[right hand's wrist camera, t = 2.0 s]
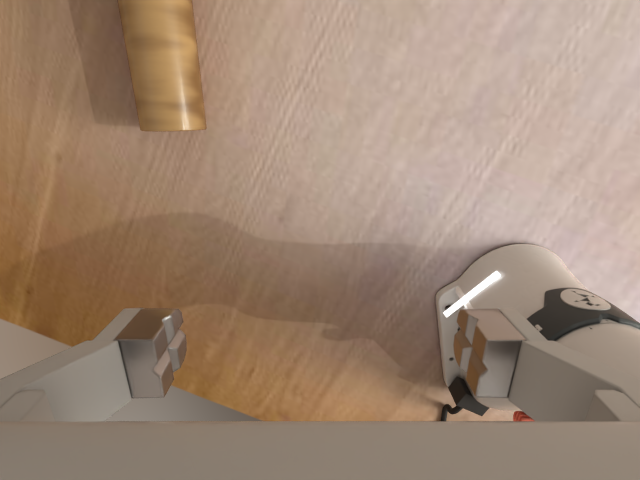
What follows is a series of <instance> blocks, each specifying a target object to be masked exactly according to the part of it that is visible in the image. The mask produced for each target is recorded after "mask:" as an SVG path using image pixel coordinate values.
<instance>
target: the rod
mask: <svg viewBox="0 0 640 480" xmlns="http://www.w3.org/2000/svg"><path fill="white" fill-rule="evenodd" d="M118 6H119V12H120V17H121V23H122V28H123V34H124V40H125V45H126V51H127V57H128V62H129V68H130V74H131V79H132V85H133V91H134V96H135V102H136V108H137V113H138V119H139V125H140V130H141V131H190V130H204V129H206V119H205V110H204V102H203V93H202V84H201V75H200V67H199V58H198V49H197V40H196V32H195V23H194V14H193V5H192V0H118Z"/></svg>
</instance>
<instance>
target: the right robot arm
mask: <svg viewBox="0 0 640 480" xmlns="http://www.w3.org/2000/svg"><path fill="white" fill-rule="evenodd" d="M435 300H436V310H437V319H438V329H439V339H440V349H441V359H442V368H443V377H444V382H445V383H446V385H447V386H448V388H449V390H450V393H451V395H452V397H453V399H454V401H455V403H456V405H457V406H456V407H454V408H452V407H451V406H450V405H449V404H446V405H445V406H444V407H443V410H442V417H441V421H106V420H107V419H108V418H110V417H111V416H112V415H113V414H115V413H116V412H117V411H119V410H120V409H121V408H122V407H124V406H125V405H126V404H127V403H129V402H130V401H131V400H132V398H160V397H165V395H166V393H167V391H168V389H169V388H170V386H171V384H172V382H173V380H174V375H173V372H175V371H176V370H178V369H179V368H180V367H181V365H182V363H183V362H184V359H185V354H186V344H187V342H186V335H185V334H184V333H183V332H182V331H181V330H180V329H179V328H180V327H181V325H182V323H183V317H182V312H181V311H180V310H179V309H164V308H126V309H123V310H122V311H121V312H120V313H119V314H118V315H117V316H116V317H115V318H114V319H113V320H112V321H111V322H110V323H109V324H108V325H107V326H106V327H105V328H104V329H103V330H102V331H101V332H100V333H99V334H98V335H97V336H96V337H95V338H94V339H93V340H92V341H85V342H82V343H80V344H78V345H76V346H73V347H71V348H69V349H67V350H64V351H62V352H60V353H58V354H55V355H53V356H51V357H49V358H47V359H44V360H42V361H40V362H38V363H35V364H33V365H31V366H29V367H27V368H24V369H22V370H20V371H17V372H15V373H13V374H11V375H9V376H6V377H4V378H2V379H0V480H640V323H639V322H637V321H636V320H634V319H633V318H632V317H630V316H629V315H628V314H626V313H625V312H623V311H622V310H620V309H619V308H617V307H616V306H614V305H613V304H611V303H609V302H608V301H606V300H604V299H603V298H601V297H599V296H597V295H595V294H593V293H591V292H590V291H589V290H587V289H586V288H585V287H584V286H583V285H582V284H581V283H580V282H579V281H578V280H577V279H576V278H575V277H574V275H573V274H572V273H571V272H570V271H569V269H568V268H567V267H566V265H565V264H564V263H563V261H562V260H561V259H560V258H559V257H558V256H557V255H556V254H555V253H553V252H552V251H550V250H548V249H546V248H544V247H541V246H537V245H532V244H513V245H508V246H504V247H501V248H498V249H495V250H493V251H491V252H489V253H487V254H485V255H483V256H482V257H480V258H479V259H478V260H476V261H475V262H474V263H473V264H472V265H471V266H470V267H469V268H468V269H467V270H466V271H465V272H464V273H463V274H462V276H461V277H460V278H459V279H457V280H456V281H454V282H452V283H451V284H449V285H447V286H445V287H444V288H442V289H441V290H440V291H438V293H437V294H436V298H435ZM446 305H449V307H447V308H445V306H446ZM463 408H464V409H466V410H469V411H471V412H473V413H476V414H478V415H481V416H483V414H484V413H485V412H486V411H487V410H488V409H489V408H492V409H497V410H503V411H515V412H514V415H513V420H514V421H446V417H447V412H449V413H450V414H456V413H458V412H459V411H460V410H461V409H463Z"/></svg>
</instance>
